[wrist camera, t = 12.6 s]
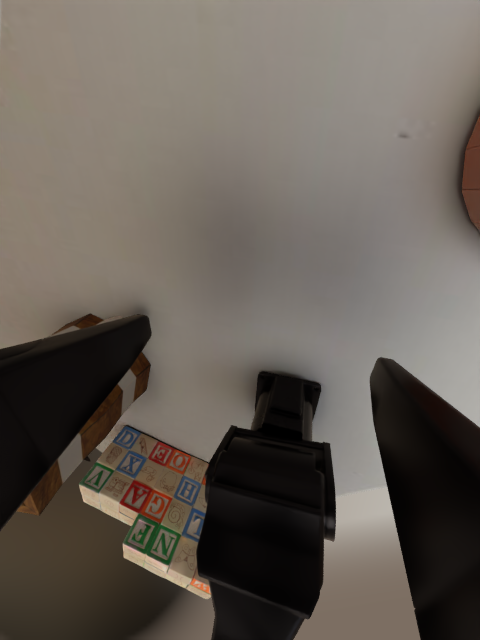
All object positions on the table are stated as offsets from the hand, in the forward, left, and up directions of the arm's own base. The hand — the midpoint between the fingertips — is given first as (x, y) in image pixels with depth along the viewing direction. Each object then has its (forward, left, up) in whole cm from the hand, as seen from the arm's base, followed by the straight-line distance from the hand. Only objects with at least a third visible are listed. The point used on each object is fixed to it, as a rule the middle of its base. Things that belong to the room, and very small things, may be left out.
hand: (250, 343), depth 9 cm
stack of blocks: (-35, +13, -12) cm, 39 cm away
